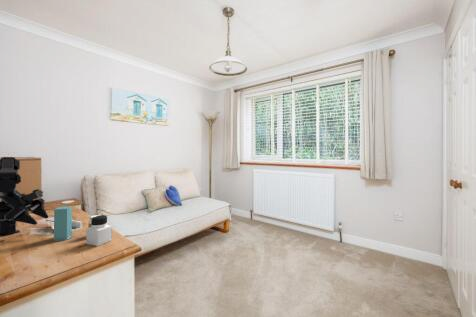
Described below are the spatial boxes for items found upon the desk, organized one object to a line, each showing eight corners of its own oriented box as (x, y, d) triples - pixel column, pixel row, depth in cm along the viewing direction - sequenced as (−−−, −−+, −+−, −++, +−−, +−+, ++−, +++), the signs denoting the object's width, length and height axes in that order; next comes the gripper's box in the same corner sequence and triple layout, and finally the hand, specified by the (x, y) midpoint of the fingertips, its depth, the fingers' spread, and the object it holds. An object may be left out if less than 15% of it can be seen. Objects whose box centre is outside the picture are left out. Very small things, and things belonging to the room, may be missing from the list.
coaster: (49, 239, 100) (49, 238, 100) (65, 234, 107) (65, 233, 107) (60, 242, 98) (60, 241, 98) (76, 236, 105) (76, 235, 105)
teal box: (53, 239, 99) (54, 209, 99) (59, 235, 104) (59, 206, 104) (66, 238, 101) (67, 208, 101) (71, 234, 106) (71, 206, 105)
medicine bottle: (111, 240, 101) (112, 215, 101) (97, 246, 95) (97, 219, 94) (100, 238, 104) (100, 213, 103) (85, 244, 97) (86, 217, 97)
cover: (45, 221, 115) (45, 215, 115) (60, 217, 121) (60, 211, 121) (58, 223, 112) (58, 217, 111) (72, 219, 118) (72, 213, 118)
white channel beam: (50, 229, 113) (50, 222, 113) (65, 225, 120) (65, 218, 120) (68, 232, 109) (68, 225, 109) (82, 228, 116) (82, 221, 116)
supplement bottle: (101, 232, 111) (101, 214, 110) (101, 236, 106) (101, 216, 106) (88, 234, 108) (88, 215, 107) (88, 238, 103) (88, 218, 103)
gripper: (14, 188, 89) (46, 213, 93) (40, 181, 107) (66, 203, 111) (-11, 207, 87) (23, 233, 91) (20, 197, 105) (47, 219, 109)
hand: (42, 220), depth 100 cm, fingers open, 9 cm apart
